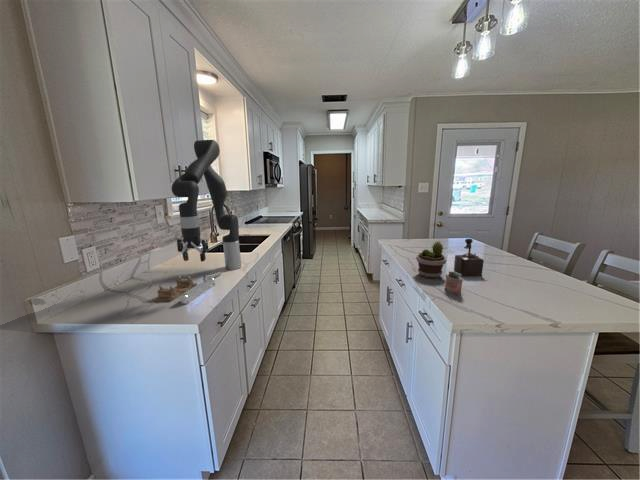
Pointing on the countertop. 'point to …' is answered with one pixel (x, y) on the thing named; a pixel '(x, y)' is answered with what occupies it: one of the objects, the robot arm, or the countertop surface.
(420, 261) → the flowerpot
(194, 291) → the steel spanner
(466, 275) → the brown box with post
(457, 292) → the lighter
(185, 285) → the tool rest
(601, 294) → the countertop surface
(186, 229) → the robot arm
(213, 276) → the caliper
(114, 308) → the countertop surface
